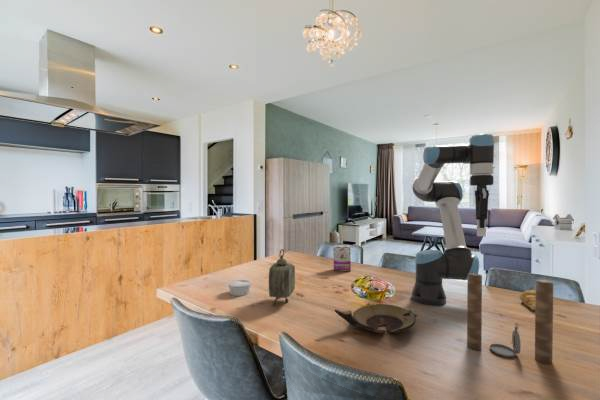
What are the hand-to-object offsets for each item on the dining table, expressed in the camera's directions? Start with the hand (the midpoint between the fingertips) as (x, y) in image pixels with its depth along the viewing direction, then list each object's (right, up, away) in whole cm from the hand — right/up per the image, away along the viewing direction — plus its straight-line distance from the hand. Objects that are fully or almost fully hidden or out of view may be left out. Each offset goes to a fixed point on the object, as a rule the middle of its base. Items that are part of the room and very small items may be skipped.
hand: (481, 236), depth 107 cm
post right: (+4, -35, -23) cm, 42 cm away
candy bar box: (-42, -33, +78) cm, 95 cm away
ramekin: (-101, -35, +36) cm, 113 cm away
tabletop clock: (-78, -35, +24) cm, 89 cm away
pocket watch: (-4, -35, -19) cm, 40 cm away
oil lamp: (-41, -35, -1) cm, 54 cm away
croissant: (+37, -34, +20) cm, 54 cm away
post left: (-13, -35, -16) cm, 40 cm away
